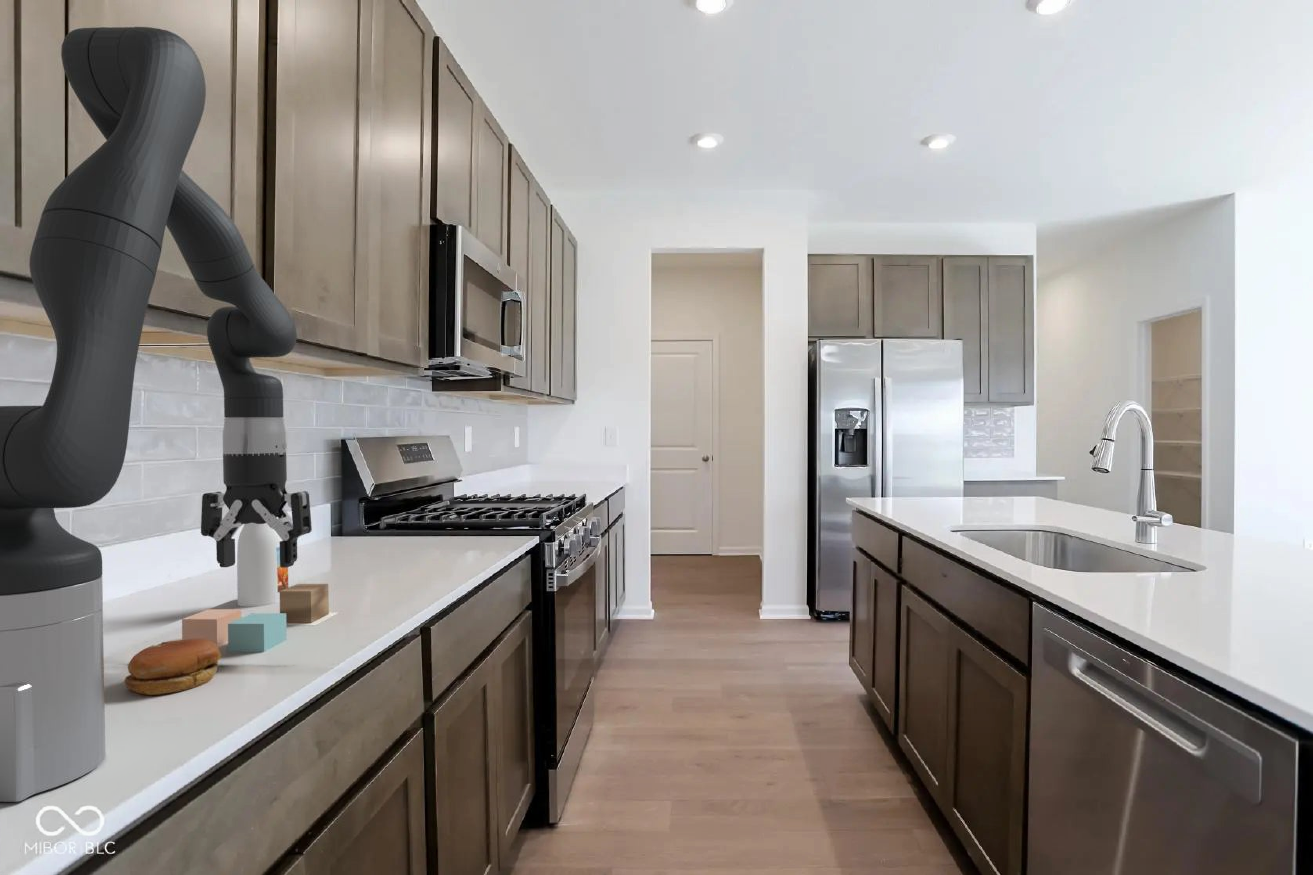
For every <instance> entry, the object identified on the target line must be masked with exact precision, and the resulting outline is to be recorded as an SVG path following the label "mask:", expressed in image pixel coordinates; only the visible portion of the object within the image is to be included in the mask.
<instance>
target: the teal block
mask: <svg viewBox="0 0 1313 875" xmlns="http://www.w3.org/2000/svg"><path fill="white" fill-rule="evenodd" d="M287 640H288V639H287V625H286V613H280V612H277V613H275V612H270V613H268V612H267V613H265V612H264V613H263V612H262V613H261V612H260V613H259V612H253V613H250V614H247V615H245V616H241V618H240V619H238V620H235V621H233V622H231V623H228V642H227V651H228V653H265V652H267V651H269V650H271V649H272V648H274V647H276V646H278V645H280V644H282V643H284V642H286V641H287Z"/></svg>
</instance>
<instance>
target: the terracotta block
mask: <svg viewBox="0 0 1313 875" xmlns="http://www.w3.org/2000/svg"><path fill="white" fill-rule="evenodd" d="M240 618H242V609H241V608H239V609H235V608H234V609H231V608H230V609H224V608H223V609H222V608H221V609H218V608H217V609H216V608H215V609H212V608H211V609H209V608H207V609H205V610H203V611H200V612H197V613H195V614H192V615H188V616H186V617H184V618H181V638H182V639H181V640H187V639H207V640H210V641H213V642H214V643H215V644H216V645H217V646H218V647H221V646H223V645H225V644H228V623H231V622H233V621H235V620H238V619H240Z"/></svg>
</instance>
